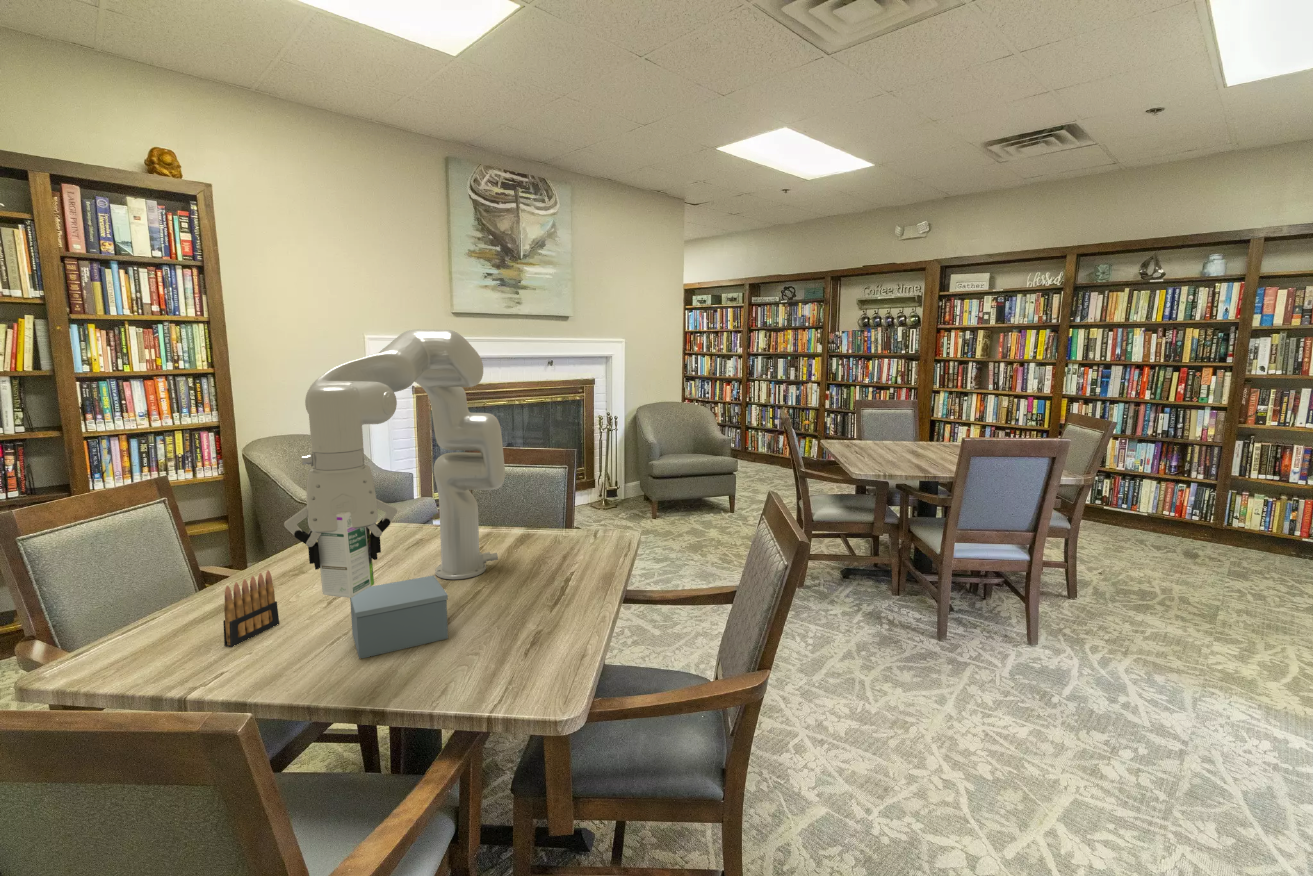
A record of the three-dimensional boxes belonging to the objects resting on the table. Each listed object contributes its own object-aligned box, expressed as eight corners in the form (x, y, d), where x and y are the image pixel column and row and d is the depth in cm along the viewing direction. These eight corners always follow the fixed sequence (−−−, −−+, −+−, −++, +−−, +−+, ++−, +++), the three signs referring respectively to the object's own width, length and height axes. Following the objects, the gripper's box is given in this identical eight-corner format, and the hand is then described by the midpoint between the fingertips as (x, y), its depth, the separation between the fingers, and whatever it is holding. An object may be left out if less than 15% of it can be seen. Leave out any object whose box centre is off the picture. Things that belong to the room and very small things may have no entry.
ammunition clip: (272, 622, 125) (268, 568, 123) (279, 624, 125) (275, 569, 123) (224, 646, 115) (218, 586, 113) (231, 647, 114) (226, 587, 113)
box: (434, 616, 129) (433, 581, 128) (447, 638, 119) (446, 600, 118) (352, 633, 120) (350, 596, 119) (359, 659, 110) (356, 618, 109)
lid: (433, 579, 128) (433, 575, 128) (447, 599, 118) (447, 594, 118) (348, 595, 119) (348, 590, 119) (355, 618, 109) (355, 612, 109)
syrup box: (351, 598, 98) (345, 513, 95) (320, 595, 99) (314, 511, 97) (374, 585, 103) (369, 504, 101) (345, 582, 104) (339, 502, 102)
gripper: (276, 469, 90) (286, 579, 93) (399, 459, 99) (405, 559, 102) (276, 461, 96) (285, 564, 99) (392, 452, 105) (397, 547, 108)
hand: (346, 561), depth 100 cm, fingers closed on syrup box, 8 cm apart
